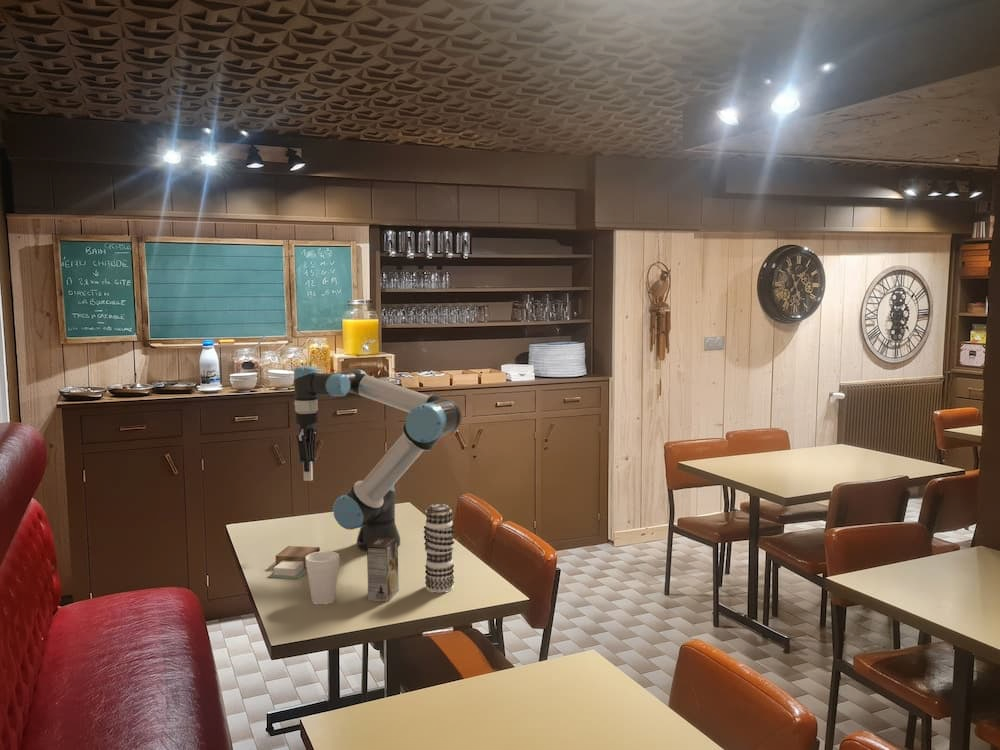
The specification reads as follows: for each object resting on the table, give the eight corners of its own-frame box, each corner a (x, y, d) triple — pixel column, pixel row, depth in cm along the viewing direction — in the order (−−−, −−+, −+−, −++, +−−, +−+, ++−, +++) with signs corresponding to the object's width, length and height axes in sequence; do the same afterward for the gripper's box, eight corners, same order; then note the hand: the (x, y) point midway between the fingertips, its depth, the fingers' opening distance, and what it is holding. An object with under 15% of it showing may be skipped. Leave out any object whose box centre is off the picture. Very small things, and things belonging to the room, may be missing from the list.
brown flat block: (320, 559, 256) (319, 547, 255) (308, 569, 246) (308, 557, 245) (288, 557, 257) (288, 546, 257) (275, 567, 247) (275, 555, 247)
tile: (303, 568, 246) (303, 561, 246) (295, 575, 239) (295, 568, 239) (283, 567, 247) (282, 560, 247) (273, 574, 240) (273, 567, 240)
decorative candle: (455, 593, 226) (454, 509, 223) (423, 593, 225) (422, 510, 223) (455, 581, 235) (454, 501, 232) (424, 582, 234) (423, 502, 232)
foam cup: (310, 609, 214) (309, 564, 213) (303, 598, 222) (301, 554, 221) (344, 603, 218) (343, 558, 217) (335, 592, 226) (334, 549, 225)
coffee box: (378, 588, 229) (377, 536, 228) (399, 590, 228) (398, 537, 226) (367, 600, 220) (366, 546, 219) (388, 602, 219) (387, 547, 217)
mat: (309, 569, 245) (309, 568, 245) (299, 579, 237) (299, 577, 237) (279, 568, 247) (279, 567, 247) (268, 577, 239) (268, 576, 238)
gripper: (303, 409, 268) (305, 475, 270) (288, 414, 255) (290, 484, 257) (323, 409, 267) (325, 476, 269) (309, 415, 254) (311, 485, 256)
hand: (308, 480), depth 263 cm, fingers closed
